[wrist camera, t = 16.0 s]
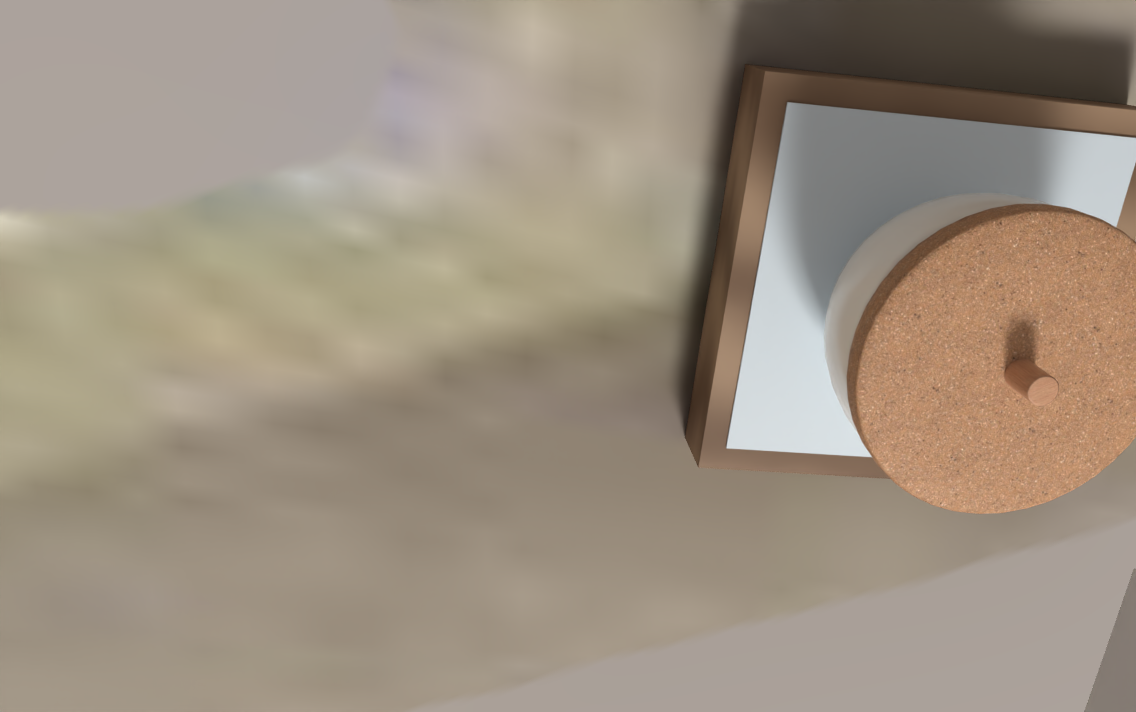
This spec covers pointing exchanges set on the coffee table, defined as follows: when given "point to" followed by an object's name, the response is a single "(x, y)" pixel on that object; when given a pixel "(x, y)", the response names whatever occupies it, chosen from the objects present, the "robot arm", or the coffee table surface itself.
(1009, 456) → the lidded jar
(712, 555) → the coffee table surface
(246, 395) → the coffee table surface
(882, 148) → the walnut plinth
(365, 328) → the coffee table surface
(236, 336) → the coffee table surface
